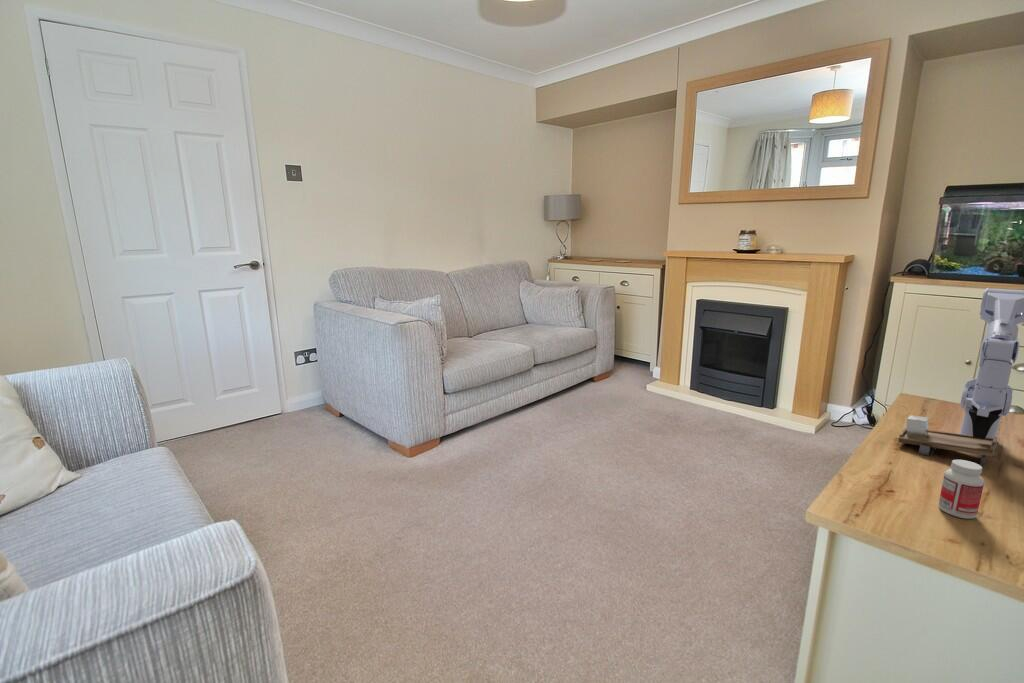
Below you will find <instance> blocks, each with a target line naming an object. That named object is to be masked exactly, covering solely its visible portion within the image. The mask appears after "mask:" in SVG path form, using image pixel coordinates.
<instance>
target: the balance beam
mask: <svg viewBox="0 0 1024 683" xmlns="http://www.w3.org/2000/svg"><path fill="white" fill-rule="evenodd" d="M997 440H998V437H997V436H996V437H994V438H987V437H986V438H985V439H979V438H975V437H973V436H971V435H964V434H959V433H957V432H956V433H953V432H948V431H941V430H932V429H928V436H927V437H926V439H924V438H917V437H910V436H907V426H905V427H904V428H903V430H902V431H901V432H900V433H899V436H898V443H901V444H902V443H906V444H909V445H913V446H915V445H916V446H920V444H924V445H928V446H931V447H933V448H936V449H940V450H946V451H952V452H960V453H967V454H974V455H980V456H982V455H986V457H993V456H994V453H995V451H996V448H997V446H998V442H997Z"/></svg>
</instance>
